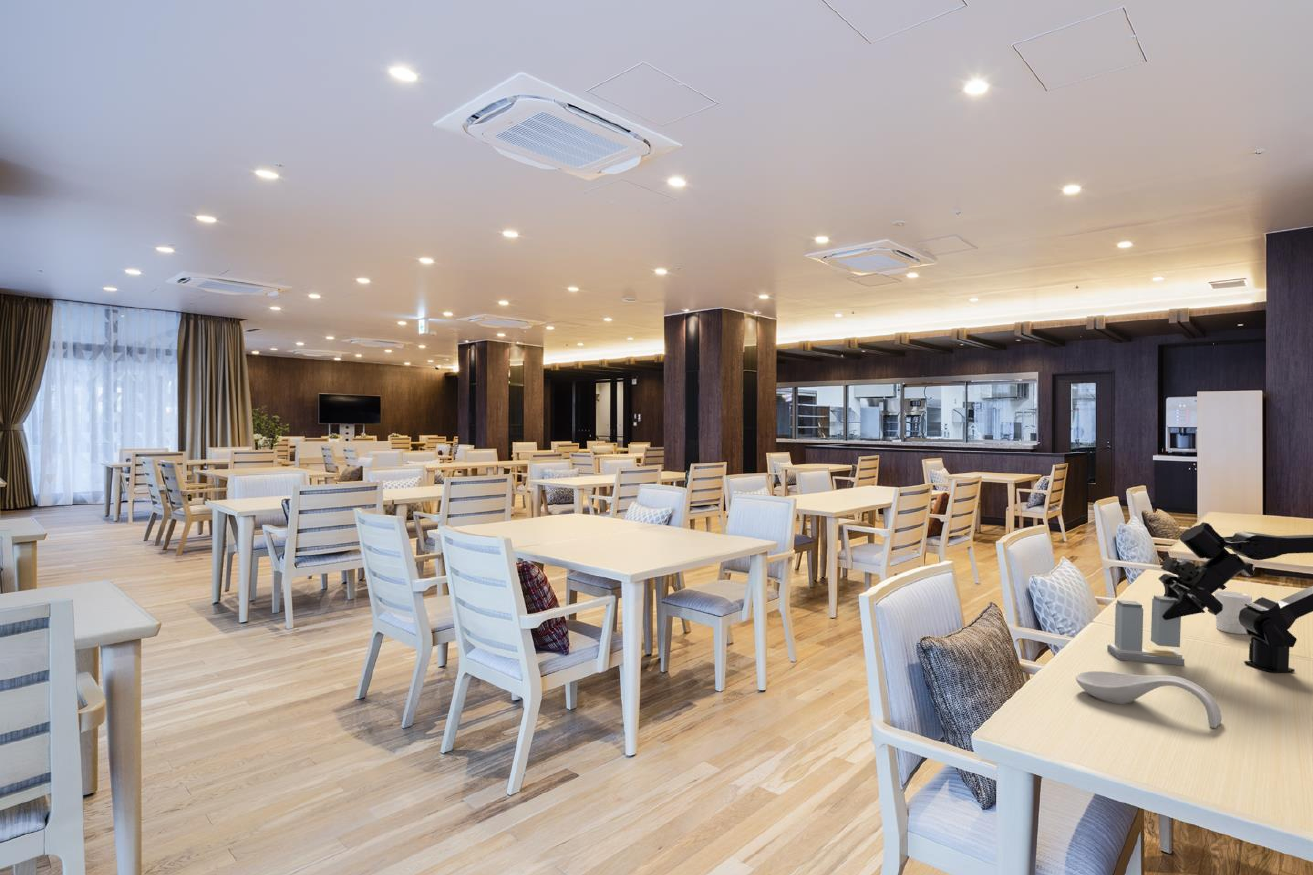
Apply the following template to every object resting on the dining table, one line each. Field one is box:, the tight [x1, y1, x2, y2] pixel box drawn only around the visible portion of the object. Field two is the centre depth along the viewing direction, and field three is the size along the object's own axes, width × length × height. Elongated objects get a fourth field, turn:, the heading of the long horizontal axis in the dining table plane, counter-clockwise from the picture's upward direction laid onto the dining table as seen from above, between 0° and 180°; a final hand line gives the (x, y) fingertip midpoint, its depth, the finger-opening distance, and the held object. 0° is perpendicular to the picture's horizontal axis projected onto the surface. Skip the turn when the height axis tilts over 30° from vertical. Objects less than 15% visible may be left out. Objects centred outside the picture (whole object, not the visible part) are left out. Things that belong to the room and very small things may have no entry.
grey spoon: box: [1075, 670, 1222, 729], centre depth 138 cm, size 24×12×7 cm, turn 41°
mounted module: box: [1114, 599, 1144, 651], centre depth 168 cm, size 4×4×11 cm
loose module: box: [1150, 595, 1182, 648], centre depth 166 cm, size 4×4×11 cm
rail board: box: [1106, 643, 1185, 666], centre depth 167 cm, size 14×7×2 cm, turn 76°
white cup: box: [1214, 590, 1253, 635], centre depth 192 cm, size 8×8×10 cm
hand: (1159, 615), depth 167 cm, fingers closed on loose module, 4 cm apart
